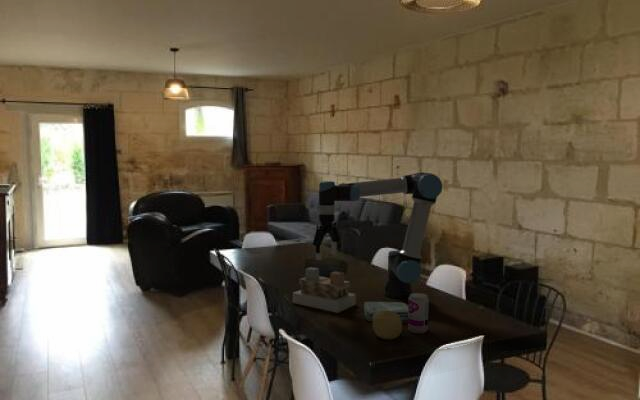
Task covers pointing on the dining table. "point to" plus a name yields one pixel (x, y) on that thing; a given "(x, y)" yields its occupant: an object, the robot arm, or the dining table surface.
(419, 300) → the supplement can
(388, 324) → the tan round ball
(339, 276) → the block
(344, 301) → the dock
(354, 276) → the dining table surface
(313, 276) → the grey cube
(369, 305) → the towel
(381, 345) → the dining table surface
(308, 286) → the board
